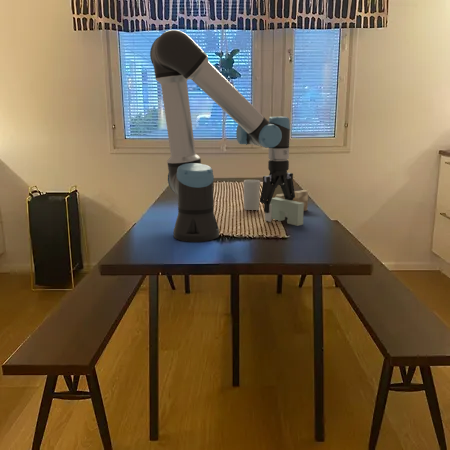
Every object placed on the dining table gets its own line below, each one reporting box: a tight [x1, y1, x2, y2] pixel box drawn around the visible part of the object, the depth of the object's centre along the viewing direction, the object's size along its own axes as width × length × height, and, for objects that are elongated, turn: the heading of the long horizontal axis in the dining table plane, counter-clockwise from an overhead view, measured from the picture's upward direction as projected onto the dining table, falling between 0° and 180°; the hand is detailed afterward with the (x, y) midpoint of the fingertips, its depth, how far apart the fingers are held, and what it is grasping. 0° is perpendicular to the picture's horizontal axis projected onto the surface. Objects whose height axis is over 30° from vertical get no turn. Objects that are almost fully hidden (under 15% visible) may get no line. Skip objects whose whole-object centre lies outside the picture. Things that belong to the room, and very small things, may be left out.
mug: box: [243, 179, 261, 212], centre depth 194 cm, size 10×7×12 cm, turn 172°
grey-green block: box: [270, 197, 305, 227], centre depth 172 cm, size 3×14×8 cm, turn 40°
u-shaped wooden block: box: [274, 189, 309, 212], centre depth 187 cm, size 16×3×8 cm, turn 130°
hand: (277, 218), depth 176 cm, fingers open, 9 cm apart
